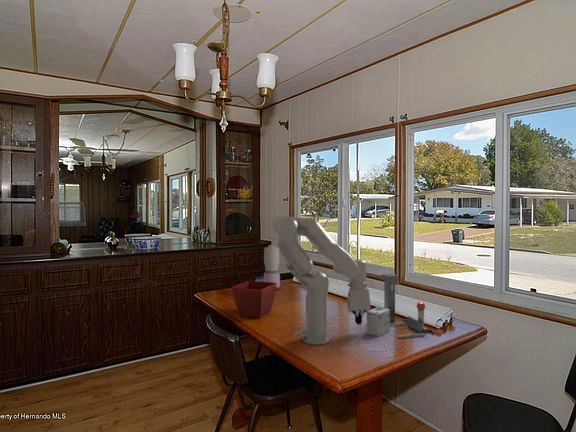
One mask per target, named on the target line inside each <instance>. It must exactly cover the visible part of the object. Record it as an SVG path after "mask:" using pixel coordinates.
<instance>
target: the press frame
mask: <svg viewBox="0 0 576 432" xmlns="http://www.w3.org/2000/svg"><path fill="white" fill-rule="evenodd" d="M381 280H382V281H383V282H384V283H383V284H384V286H383V287H384V288H383V289H384V290H383V292H384V293H383V294H384V295H383V296H384V298H383V299H384V301H383V302H384V306H383V308H385V309H390V327H396V326H406V325H407V324H406V322H403V321H402V322H398V321H397V320H396V283H397V282H398V281H399V276H398V275H397V274H394V273H381ZM407 319H408V322H407V323H408V325H407V327H409V328H410V327H411V328H410V329H412V330H413V329H414V330H413V331H415V332H417V333H410V334H409V333H408V334H397V338H398V339H407V338H419V337H421V336H422V337H425V335H424V333H422V323H420V322H418V320H416V319H414V318H413V317H412V316H407Z"/></svg>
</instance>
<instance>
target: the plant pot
mask: <svg viewBox="0 0 576 432" xmlns="http://www.w3.org/2000/svg"><path fill="white" fill-rule="evenodd" d="M276 285H277V283H272V282H264V281H259V280H246V281H244V282H241V283H239V284H236V285H233V286H232V287H231V290H232V295H233V300H234V302H235V306H236V310H237V311H238V313H239V315H246V316H251V317H250V318H252V317H257V318H256V319H261V318H263V317H264V316H266V315H268V314H270V313H269V312H271V311H272V309H273V308H272V307H273V304H274V301H275V297H276V292H277V291H276V290H277V289H276ZM267 313H268V314H267ZM265 314H266V315H265ZM262 316H263V317H262ZM260 317H261V318H260Z"/></svg>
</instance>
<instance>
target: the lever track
mask: <svg viewBox="0 0 576 432" xmlns="http://www.w3.org/2000/svg"><path fill="white" fill-rule="evenodd" d="M402 322H406V325H407V326H408V318H407V319H406V318H405V319H402ZM424 327H425V328H427V327H426V326H424ZM425 332H430V333H431V334H432V333H433V335H435V332H434V331H432V329H431V328H430V329H429V328H427V330H422V333H424V336H425V334H426V333H425Z"/></svg>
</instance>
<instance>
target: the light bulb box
mask: <svg viewBox="0 0 576 432" xmlns="http://www.w3.org/2000/svg"><path fill="white" fill-rule="evenodd" d="M390 327H391V326H390V309H385V308H384V307H380V306H377V307H374V308H372V309H369V311H367V312H366V334H369V335H372V336H375V337H379V336H382V335H384V334H386V333H388V332H390V329H391V328H390Z"/></svg>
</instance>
